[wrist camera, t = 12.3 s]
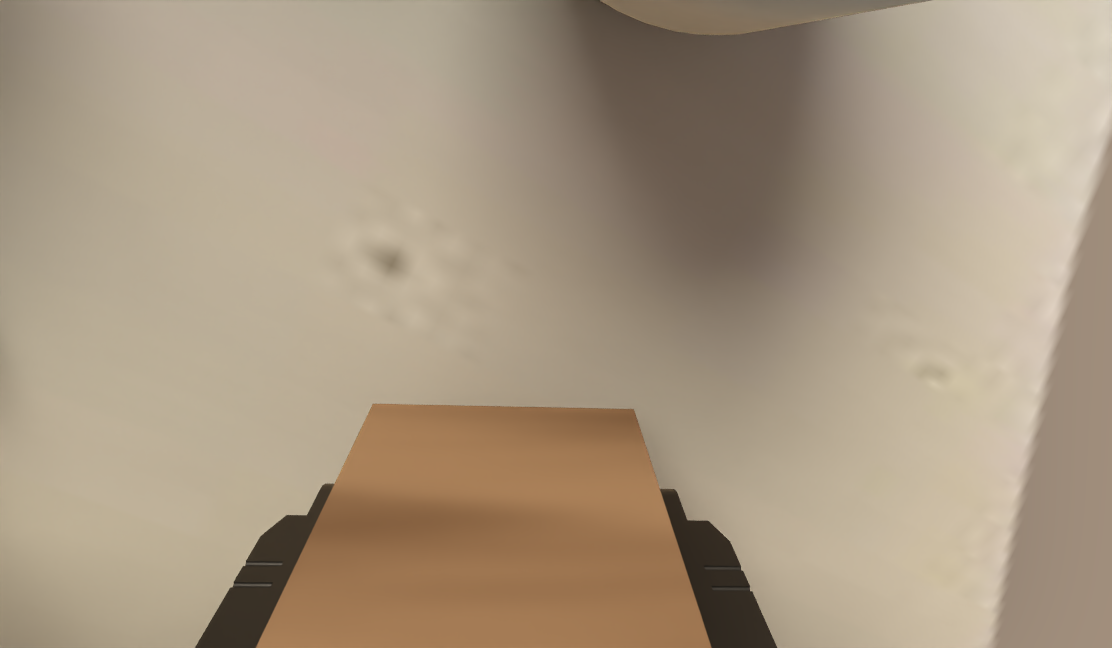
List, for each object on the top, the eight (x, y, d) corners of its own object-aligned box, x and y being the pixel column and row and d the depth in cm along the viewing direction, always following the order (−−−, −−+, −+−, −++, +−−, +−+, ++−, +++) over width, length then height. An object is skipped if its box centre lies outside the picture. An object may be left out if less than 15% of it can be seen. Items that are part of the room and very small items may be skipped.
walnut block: (615, 612, 12) (678, 997, 7) (384, 612, 12) (276, 1009, 7) (633, 409, 11) (730, 704, 6) (373, 404, 11) (227, 706, 5)
